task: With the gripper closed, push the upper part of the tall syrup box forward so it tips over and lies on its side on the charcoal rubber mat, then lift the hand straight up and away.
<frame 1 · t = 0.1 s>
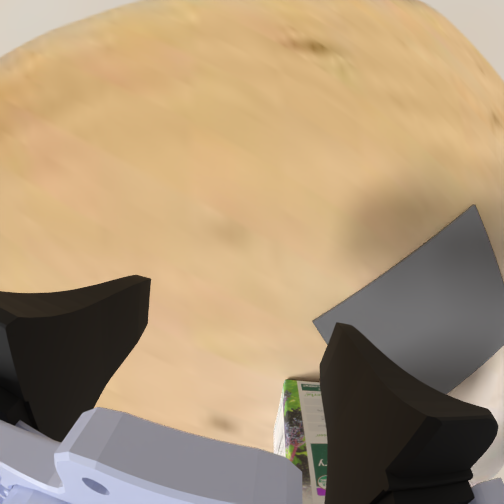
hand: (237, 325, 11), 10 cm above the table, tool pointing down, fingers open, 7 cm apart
rubber mat: (435, 330, 22), on the table
syrup box: (311, 408, 23), on the table
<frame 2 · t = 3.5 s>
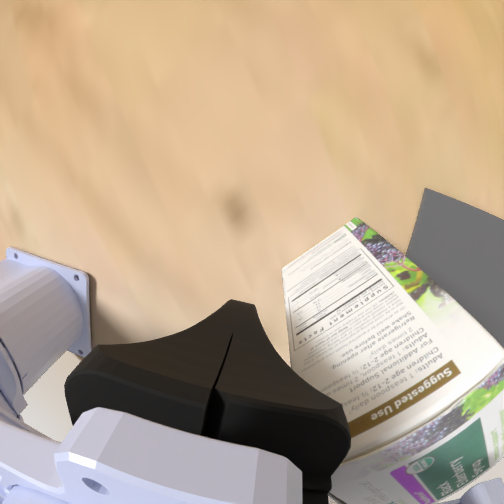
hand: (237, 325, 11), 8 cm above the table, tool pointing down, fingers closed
rubber mat: (476, 307, 19), on the table
syrup box: (339, 276, 20), on the table, touching gripper
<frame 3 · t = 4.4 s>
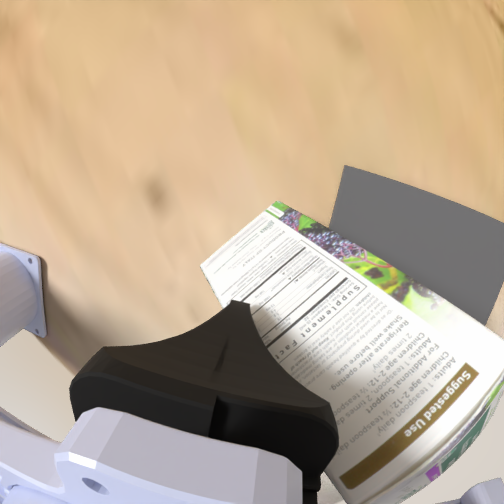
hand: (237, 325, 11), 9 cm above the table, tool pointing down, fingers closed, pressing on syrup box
rubber mat: (419, 293, 20), on the table
syrup box: (260, 264, 19), point 1 cm above the table, touching gripper, rubber mat
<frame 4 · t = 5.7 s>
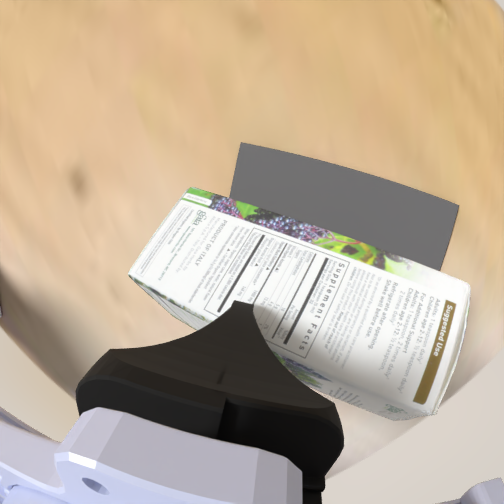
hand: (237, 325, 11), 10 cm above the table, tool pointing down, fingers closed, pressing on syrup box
rubber mat: (335, 273, 21), on the table
syrup box: (173, 255, 17), point 4 cm above the table, touching gripper, rubber mat
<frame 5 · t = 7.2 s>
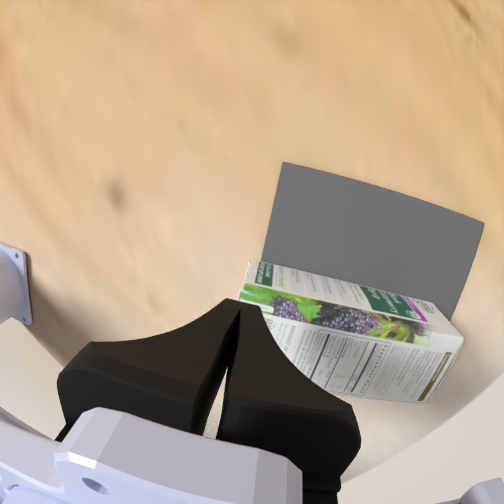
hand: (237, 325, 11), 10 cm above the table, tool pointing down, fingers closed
rubber mat: (369, 287, 21), on the table
syrup box: (232, 312, 19), point 3 cm above the table, touching rubber mat
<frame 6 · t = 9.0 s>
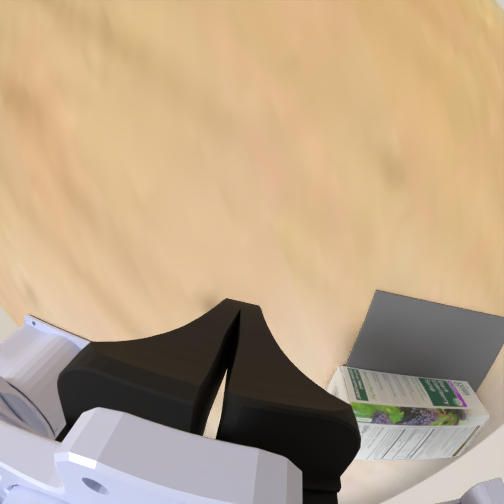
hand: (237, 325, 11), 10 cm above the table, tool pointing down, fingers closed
rubber mat: (423, 375, 23), on the table
syrup box: (327, 411, 21), point 3 cm above the table, touching rubber mat
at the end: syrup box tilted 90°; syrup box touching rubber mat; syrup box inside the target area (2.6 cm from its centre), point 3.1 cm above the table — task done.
